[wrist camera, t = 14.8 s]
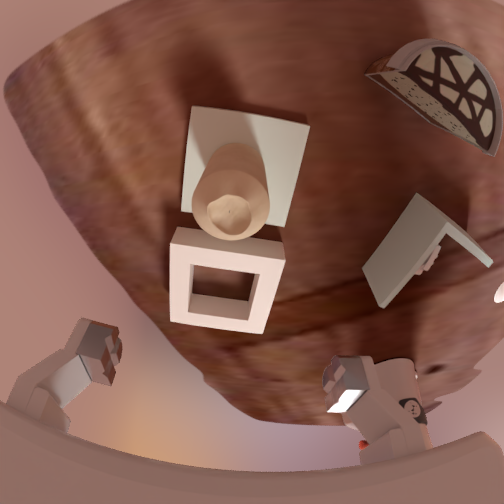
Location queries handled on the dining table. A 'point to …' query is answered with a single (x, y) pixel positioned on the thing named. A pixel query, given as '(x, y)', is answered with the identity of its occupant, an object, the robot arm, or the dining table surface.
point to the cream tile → (256, 136)
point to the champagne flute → (499, 294)
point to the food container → (445, 89)
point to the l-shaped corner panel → (413, 248)
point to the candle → (232, 193)
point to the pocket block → (231, 258)
